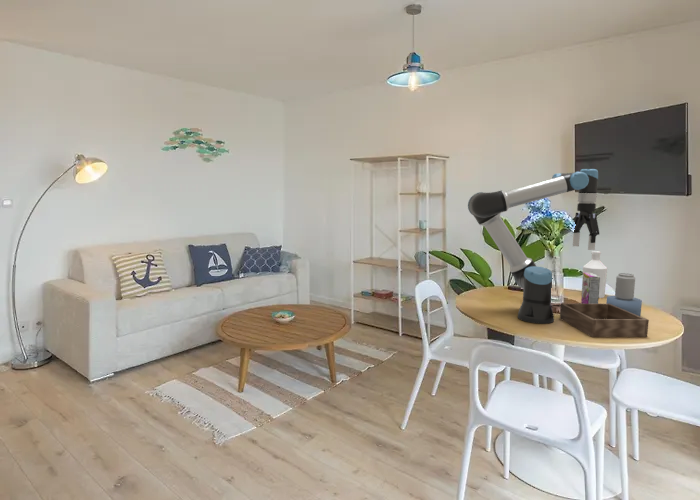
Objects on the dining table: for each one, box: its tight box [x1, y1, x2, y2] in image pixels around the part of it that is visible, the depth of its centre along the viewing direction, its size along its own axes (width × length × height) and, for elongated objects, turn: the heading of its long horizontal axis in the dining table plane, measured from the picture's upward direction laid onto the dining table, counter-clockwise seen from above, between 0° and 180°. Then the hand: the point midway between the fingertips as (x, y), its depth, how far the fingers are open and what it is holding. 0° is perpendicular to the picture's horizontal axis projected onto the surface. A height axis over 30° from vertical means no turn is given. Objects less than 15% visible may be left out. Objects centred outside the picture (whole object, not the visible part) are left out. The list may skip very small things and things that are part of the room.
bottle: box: [581, 250, 608, 299], centre depth 247 cm, size 12×12×25 cm
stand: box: [605, 295, 643, 317], centre depth 207 cm, size 14×14×8 cm
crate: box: [559, 303, 650, 338], centre depth 189 cm, size 22×26×7 cm
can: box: [614, 272, 636, 300], centre depth 206 cm, size 8×8×12 cm
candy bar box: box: [580, 272, 600, 304], centre depth 224 cm, size 11×5×16 cm, turn 168°
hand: (583, 248), depth 207 cm, fingers open, 13 cm apart
